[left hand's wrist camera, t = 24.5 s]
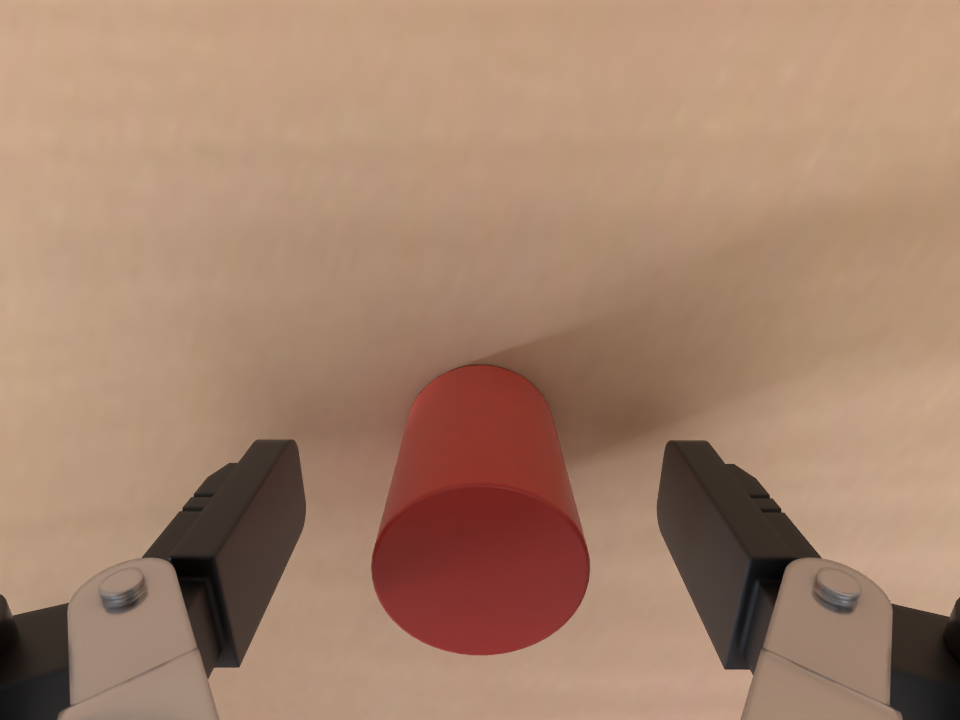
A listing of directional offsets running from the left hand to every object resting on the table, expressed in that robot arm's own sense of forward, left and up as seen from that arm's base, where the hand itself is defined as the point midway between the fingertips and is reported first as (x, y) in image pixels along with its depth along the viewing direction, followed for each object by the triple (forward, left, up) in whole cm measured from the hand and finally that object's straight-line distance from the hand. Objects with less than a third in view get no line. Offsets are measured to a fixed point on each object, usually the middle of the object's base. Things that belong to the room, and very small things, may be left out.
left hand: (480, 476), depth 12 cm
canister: (0, 0, -2) cm, 2 cm away
